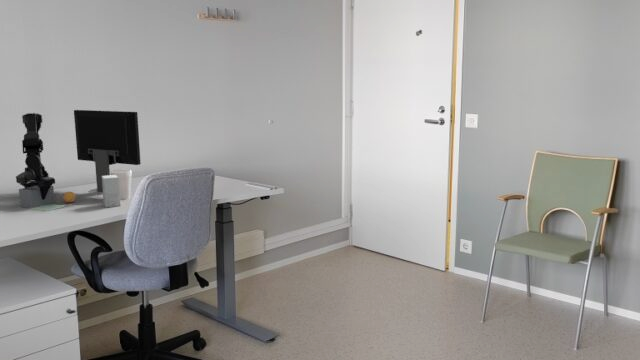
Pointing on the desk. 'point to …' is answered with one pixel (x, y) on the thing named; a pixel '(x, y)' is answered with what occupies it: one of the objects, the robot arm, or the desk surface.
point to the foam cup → (123, 182)
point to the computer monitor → (107, 140)
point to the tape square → (47, 207)
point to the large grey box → (35, 197)
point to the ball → (69, 196)
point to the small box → (111, 190)
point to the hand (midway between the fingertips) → (37, 198)
